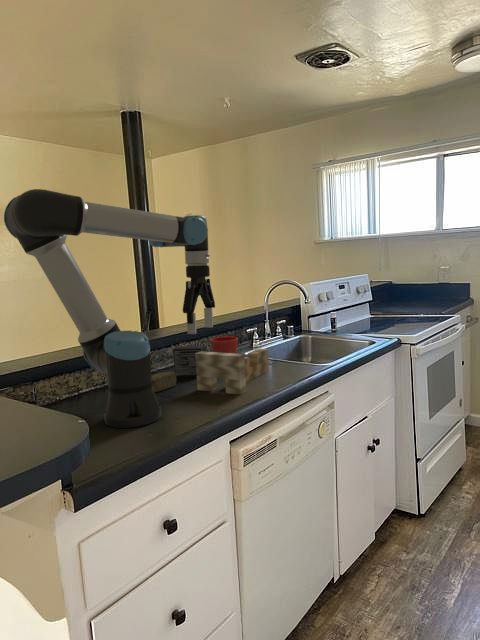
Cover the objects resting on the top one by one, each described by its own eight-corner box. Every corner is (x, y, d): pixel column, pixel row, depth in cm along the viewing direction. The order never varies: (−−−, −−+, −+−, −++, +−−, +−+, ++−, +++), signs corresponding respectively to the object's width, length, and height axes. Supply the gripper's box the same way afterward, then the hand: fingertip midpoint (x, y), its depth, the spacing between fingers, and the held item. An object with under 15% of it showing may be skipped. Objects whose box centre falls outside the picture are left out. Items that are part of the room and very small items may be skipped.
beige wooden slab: (246, 391, 152) (244, 354, 150) (240, 394, 149) (238, 356, 147) (203, 387, 160) (201, 351, 158) (197, 389, 157) (195, 353, 155)
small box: (206, 372, 180) (204, 344, 178) (203, 376, 173) (201, 348, 172) (178, 373, 181) (176, 345, 180) (174, 377, 175) (172, 349, 173)
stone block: (178, 386, 163) (177, 371, 162) (151, 395, 154) (150, 380, 154) (166, 384, 167) (165, 370, 166) (140, 392, 158) (138, 378, 157)
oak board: (238, 386, 158) (237, 362, 157) (229, 385, 160) (227, 361, 159) (268, 370, 177) (267, 349, 176) (260, 369, 179) (259, 348, 178)
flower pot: (213, 360, 200) (211, 336, 198) (239, 358, 199) (238, 335, 198) (210, 366, 189) (208, 341, 188) (238, 364, 189) (237, 340, 187)
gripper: (191, 265, 143) (195, 336, 145) (222, 263, 166) (225, 324, 169) (168, 266, 145) (173, 336, 148) (202, 264, 168) (205, 324, 171)
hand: (200, 330), depth 158 cm, fingers open, 13 cm apart
